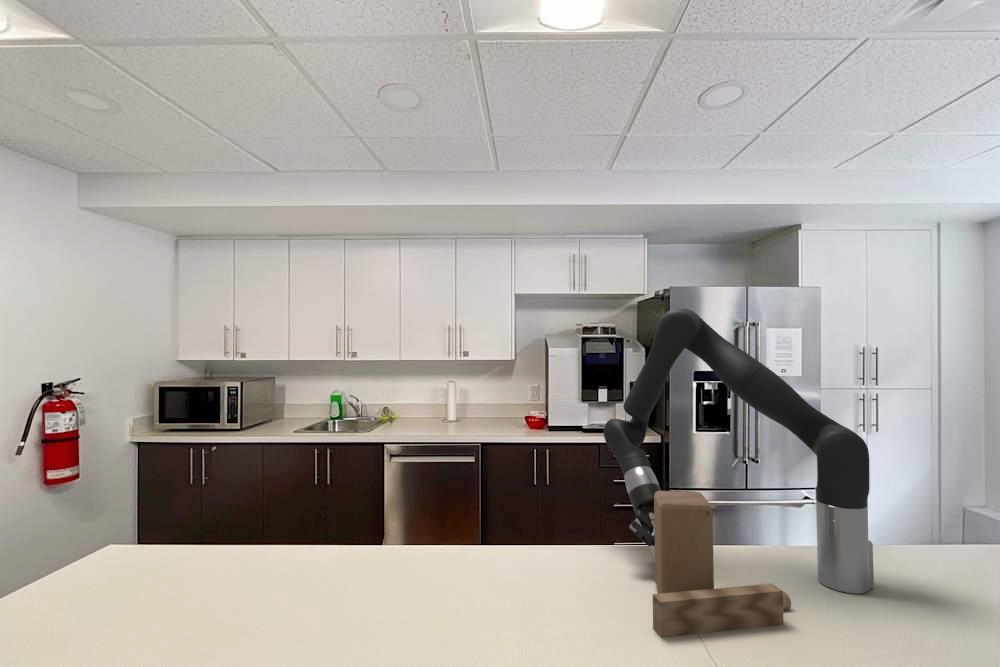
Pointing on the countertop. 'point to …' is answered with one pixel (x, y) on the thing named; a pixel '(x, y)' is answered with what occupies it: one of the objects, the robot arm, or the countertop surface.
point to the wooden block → (683, 542)
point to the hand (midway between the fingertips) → (669, 563)
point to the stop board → (717, 609)
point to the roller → (786, 601)
